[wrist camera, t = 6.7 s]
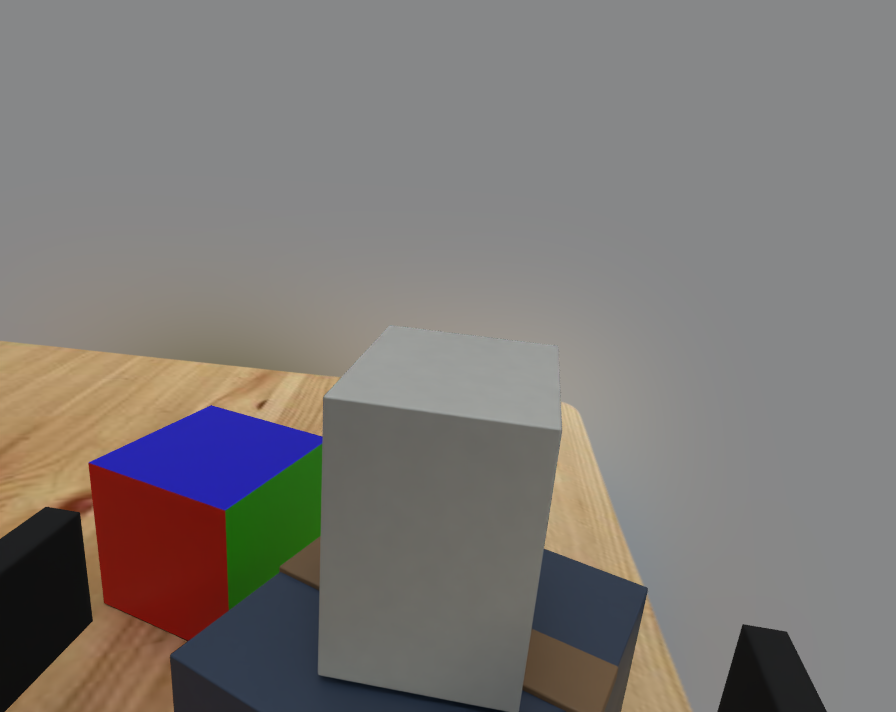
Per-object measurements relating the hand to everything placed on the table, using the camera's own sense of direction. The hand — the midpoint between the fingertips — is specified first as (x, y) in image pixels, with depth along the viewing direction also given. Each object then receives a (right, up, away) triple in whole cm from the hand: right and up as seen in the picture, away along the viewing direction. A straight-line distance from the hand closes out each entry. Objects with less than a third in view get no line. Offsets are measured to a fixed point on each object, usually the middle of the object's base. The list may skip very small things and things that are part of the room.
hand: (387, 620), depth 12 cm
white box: (+1, -4, +9) cm, 10 cm away
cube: (-11, -7, +22) cm, 25 cm away
